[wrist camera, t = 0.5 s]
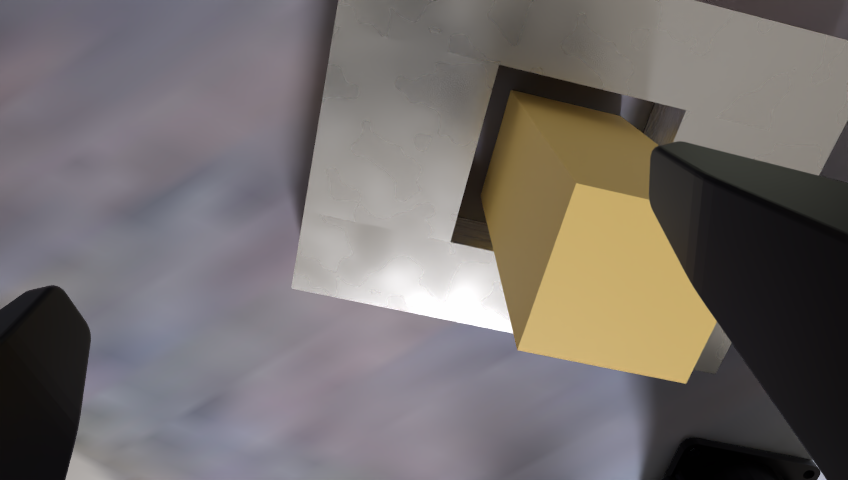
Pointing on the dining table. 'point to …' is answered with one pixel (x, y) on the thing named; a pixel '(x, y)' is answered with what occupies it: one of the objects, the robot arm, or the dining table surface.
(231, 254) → the dining table surface
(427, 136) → the square hole plate
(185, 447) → the dining table surface
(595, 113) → the peg
